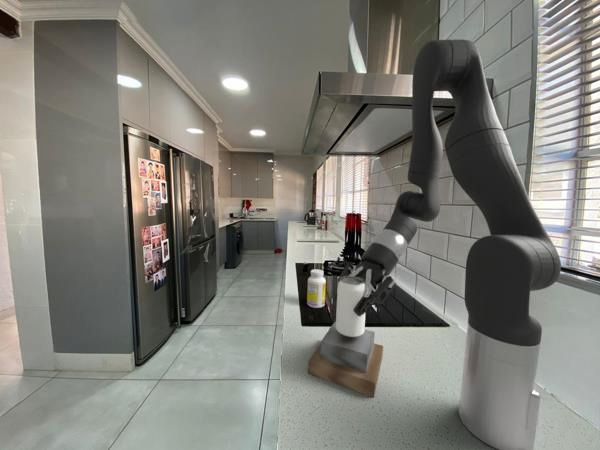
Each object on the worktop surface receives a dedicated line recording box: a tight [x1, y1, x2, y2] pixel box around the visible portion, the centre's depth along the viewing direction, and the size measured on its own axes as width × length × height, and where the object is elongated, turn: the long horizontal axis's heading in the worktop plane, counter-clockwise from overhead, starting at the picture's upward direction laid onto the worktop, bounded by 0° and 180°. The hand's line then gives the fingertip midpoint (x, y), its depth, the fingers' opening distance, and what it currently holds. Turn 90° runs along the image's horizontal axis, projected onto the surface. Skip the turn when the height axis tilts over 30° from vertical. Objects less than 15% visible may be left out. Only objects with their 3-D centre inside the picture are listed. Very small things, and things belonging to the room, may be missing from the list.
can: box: [335, 276, 366, 337], centre depth 55 cm, size 6×6×12 cm
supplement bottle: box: [306, 268, 327, 309], centre depth 89 cm, size 7×7×13 cm
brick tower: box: [307, 321, 384, 398], centre depth 56 cm, size 14×14×7 cm
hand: (345, 307), depth 54 cm, fingers closed on can, 6 cm apart
